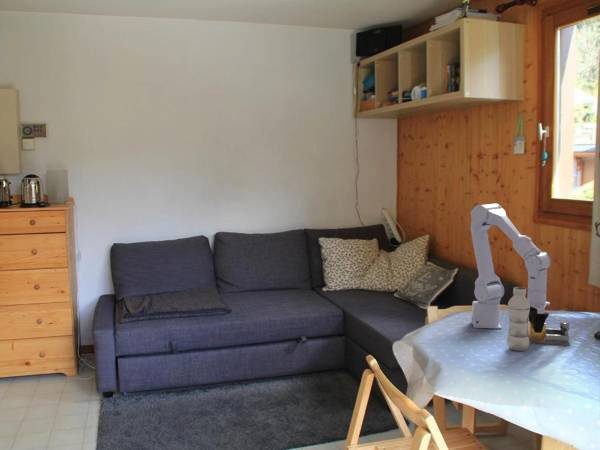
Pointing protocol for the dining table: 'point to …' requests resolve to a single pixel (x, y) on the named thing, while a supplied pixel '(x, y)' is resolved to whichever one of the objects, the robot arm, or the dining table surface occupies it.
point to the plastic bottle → (518, 320)
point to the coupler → (554, 336)
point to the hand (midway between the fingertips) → (535, 328)
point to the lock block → (532, 333)
